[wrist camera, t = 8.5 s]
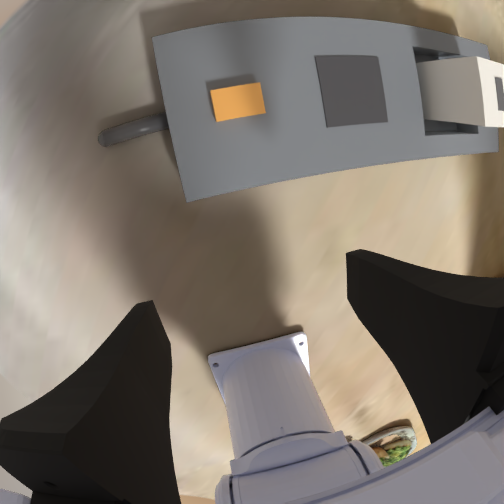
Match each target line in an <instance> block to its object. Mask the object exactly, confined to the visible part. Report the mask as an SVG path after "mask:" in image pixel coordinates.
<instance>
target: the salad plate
mask: <svg viewBox="0 0 504 504" xmlns="http://www.w3.org/2000/svg"><path fill="white" fill-rule="evenodd" d="M390 435H398V436H400V437H401V438H402V439H401V440H397V441H395V442H393V443H390V444H388V445H385V446H382V447H377V445H374V443H376V442H377V441H379V440H380V439H382V438H384V437H387V436H390ZM362 443H364V444H366V445H368V446H370V447H371V448H372V449H373V450H374V452H375V453H376V454H377V456H378V457H379V459H380V461H381V463H382V465H383V467H384V468H386V467H388V466H390V465H392V464H394V463H396V462H398V461H400V460H402V459H404V458H406V457H407V456H408V455H409V454H410V453H411V452H412V451H413V450H414V449H415V447H416V445H417V440H416V436H415V432H414V430H413V428H412V427H409V426H402V427H394V428H390V429H386V430H384V431H381V432H379V433H377V434H375V435H373V436H371V437H369V438H367V439H366V440H364V441H362Z"/></svg>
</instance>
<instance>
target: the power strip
mask: <svg viewBox="0 0 504 504" xmlns="http://www.w3.org/2000/svg"><path fill="white" fill-rule="evenodd" d="M152 41H153V47H154V53H155V59H156V64H157V70H158V75H159V80H160V85H161V90H162V95H163V100H164V105H165V110H166V112H163V113H159V114H156V115H152V116H149V117H145V118H142V119H138V120H135V121H132V122H128V123H125V124H122V125H119V126H116V127H113V128H110V129H107V130H104V131H102V132H101V133H100V134H99V136H98V142H99V144H100V145H101V146H104V147H107V146H110V145H113V144H116V143H119V142H123V141H126V140H129V139H132V138H136V137H139V136H142V135H146V134H149V133H153V132H157V131H160V130H164V129H168V128H169V129H170V134H171V138H172V143H173V147H174V152H175V156H176V161H177V165H178V169H179V173H180V178H181V182H182V186H183V190H184V194H185V198H186V202H191V201H195V200H199V199H204V198H208V197H212V196H216V195H221V194H225V193H229V192H234V191H238V190H243V189H248V188H252V187H257V186H262V185H267V184H272V183H277V182H282V181H287V180H292V179H297V178H302V177H308V176H313V175H319V174H325V173H330V172H336V171H342V170H348V169H355V168H361V167H367V166H374V165H381V164H388V163H395V162H403V161H411V160H419V159H427V158H436V157H445V156H455V155H466V154H477V153H490V152H499V138H498V127H484V126H478V125H471V124H464V123H456V122H447V121H438V120H427V119H424V118H423V109H422V101H421V93H420V86H419V79H418V73H417V67H416V63H420V62H427V61H435V60H443V59H452V58H462V57H475V56H477V57H481V58H484V59H488V60H490V57H489V52H488V47H487V45H485V44H482V43H478V42H475V41H472V40H469V39H465V38H462V37H458V36H455V35H451V34H447V33H443V32H439V31H435V30H430V29H425V28H420V27H415V26H410V25H404V24H398V23H391V22H384V21H376V20H366V19H355V18H340V17H278V18H262V19H251V20H241V21H233V22H225V23H218V24H212V25H206V26H200V27H195V28H190V29H185V30H180V31H175V32H171V33H167V34H163V35H159V36H155V37H152Z"/></svg>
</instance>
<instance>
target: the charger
mask: <svg viewBox="0 0 504 504" xmlns="http://www.w3.org/2000/svg"><path fill="white" fill-rule="evenodd" d="M416 67H417V73H418V79H419V86H420V93H421V101H422V109H423V118H424V119H427V120H438V121H447V122H456V123H464V124H471V125H478V126H484V127H504V64H501V63H497V62H494V61H491V60H488V59H484V58H481V57H477V56H475V57H462V58H452V59H443V60H435V61H427V62H420V63H416Z"/></svg>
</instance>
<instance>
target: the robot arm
mask: <svg viewBox="0 0 504 504" xmlns="http://www.w3.org/2000/svg"><path fill="white" fill-rule="evenodd" d="M346 265H347V299H348V301H349V302H350V304H351V306H352V308H353V310H354V311H355V313H356V315H357V317H358V318H359V320H360V321H361V322H362V323H363V325H364V326H365V327H366V329H367V330H368V331H369V333H370V334H371V335H372V336H373V338H374V339H375V340H376V341H377V343H378V344H379V345H380V347H381V348H382V349H383V350H384V352H385V353H386V354H387V356H388V357H389V358H390V360H391V361H392V363H393V364H394V366H395V368H396V369H397V371H398V373H399V375H400V376H401V378H402V380H403V382H404V383H405V385H406V387H407V389H408V391H409V393H410V395H411V397H412V399H413V401H414V403H415V405H416V408H417V410H418V412H419V414H420V416H421V419H422V421H423V423H424V426H425V429H426V431H427V434H428V437H429V439H430V442H431V445H429V446H427V447H425V448H423V449H422V450H420V451H418V452H416V453H414V454H412V455H410V456H408V457H406V458H404V459H402V460H400V461H398V462H396V463H394V464H392V465H390V466H388V467H386V468H384V467H383V465H382V463H381V461H380V459H379V457H378V456H377V454H376V453H375V452H374V450H373V449H372V448H371V447H370V446H368V445H366V444H364V443H362V442H361V441H359V440H352V441H350V442H347V440H346V438H345V436H344V434H343V431H338V432H335V430H334V428H333V426H332V424H331V421H330V419H329V417H328V415H327V413H326V410H325V408H324V406H323V404H322V402H321V399H320V397H319V395H318V393H317V391H316V388H315V386H314V384H313V382H312V380H311V378H310V369H309V357H308V346H307V337H306V334H305V333H304V332H297V333H293V334H289V335H286V336H282V337H278V338H275V339H271V340H267V341H263V342H259V343H255V344H251V345H247V346H243V347H239V348H235V349H231V350H226V351H222V352H217V353H213V354H210V355H209V356H208V363H209V365H210V368H211V370H212V373H213V376H214V378H215V381H216V383H217V386H218V388H219V390H220V393H221V395H222V398H223V400H224V403H225V405H226V409H227V416H228V422H229V428H230V434H231V440H232V445H233V451H234V457H235V459H234V460H231V461H230V466H231V471H232V474H228V475H224V476H222V478H221V480H220V482H219V483H218V484H217V486H216V489H215V503H216V504H504V278H490V277H474V276H464V275H457V274H451V273H446V272H441V271H436V270H432V269H428V268H424V267H420V266H417V265H413V264H410V263H406V262H403V261H400V260H397V259H394V258H391V257H388V256H384V255H381V254H378V253H375V252H371V251H367V250H362V249H359V250H355V251H351V252H348V253H346ZM300 341H302V342H301V343H299V342H300ZM214 363H218V364H214ZM171 377H172V357H171V343H170V341H169V339H168V337H167V334H166V332H165V330H164V327H163V325H162V322H161V320H160V318H159V315H158V313H157V310H156V308H155V305H154V303H153V300H151V301H147V302H142V303H137V304H136V305H135V306H134V307H133V308H132V309H131V310H130V312H129V313H128V314H127V315H126V316H125V318H124V319H123V320H122V321H121V322H120V324H119V325H118V326H117V327H116V329H115V330H114V331H113V332H112V333H111V335H110V336H109V337H108V338H107V339H106V340H105V341H104V343H103V344H102V345H101V346H100V347H99V348H98V349H97V350H96V351H95V353H94V354H93V355H92V356H91V357H90V358H89V359H88V360H87V361H86V362H85V363H84V364H83V365H82V366H80V367H79V368H78V369H77V370H76V371H75V372H74V373H73V374H72V375H70V376H69V377H68V378H67V379H65V380H64V381H63V382H61V383H60V384H59V385H58V386H56V387H55V388H54V389H53V390H51V391H50V392H48V393H47V394H45V395H44V396H42V397H41V398H39V399H38V400H36V401H34V402H33V403H31V404H29V405H28V406H26V407H24V408H22V409H20V410H18V411H16V412H14V413H12V414H10V415H8V416H6V417H4V418H2V420H1V422H0V465H1V466H2V467H3V468H4V469H5V470H6V471H7V472H8V473H10V474H11V475H12V476H13V477H15V478H16V479H17V480H19V481H20V482H21V483H22V484H24V485H25V486H26V487H28V488H29V489H31V490H32V491H33V493H32V498H29V497H27V496H25V495H22V494H19V493H15V492H11V491H8V490H4V489H0V504H181V501H180V496H179V492H178V487H177V481H176V476H175V470H174V463H173V456H172V449H171V439H170V428H169V412H170V393H171Z"/></svg>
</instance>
